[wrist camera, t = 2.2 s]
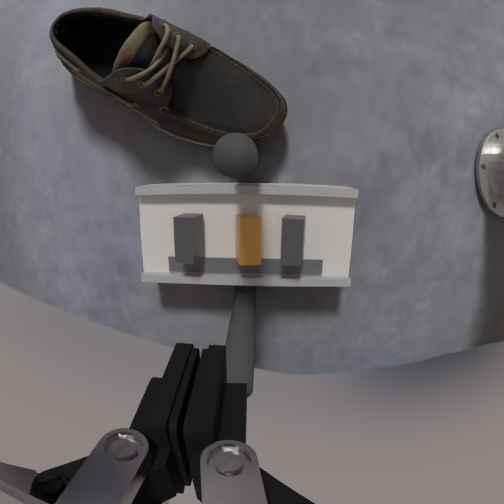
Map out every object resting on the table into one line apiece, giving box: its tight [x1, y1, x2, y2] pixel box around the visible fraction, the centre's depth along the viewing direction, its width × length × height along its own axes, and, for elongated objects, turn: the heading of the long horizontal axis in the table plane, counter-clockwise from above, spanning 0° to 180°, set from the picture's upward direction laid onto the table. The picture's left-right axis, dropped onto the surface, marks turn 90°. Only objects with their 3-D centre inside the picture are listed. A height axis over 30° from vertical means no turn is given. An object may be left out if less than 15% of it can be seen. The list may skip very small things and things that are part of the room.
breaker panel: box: [135, 183, 359, 287], centre depth 33 cm, size 22×10×5 cm, turn 89°
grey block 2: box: [280, 214, 306, 267], centre depth 30 cm, size 2×4×2 cm, turn 179°
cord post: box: [225, 285, 256, 398], centre depth 29 cm, size 2×2×18 cm
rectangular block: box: [236, 214, 262, 265], centre depth 30 cm, size 2×4×2 cm, turn 179°
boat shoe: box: [50, 7, 287, 147], centre depth 26 cm, size 11×29×11 cm, turn 64°
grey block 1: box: [173, 213, 204, 264], centre depth 30 cm, size 2×4×2 cm, turn 179°
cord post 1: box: [213, 133, 259, 177], centre depth 25 cm, size 2×2×18 cm
